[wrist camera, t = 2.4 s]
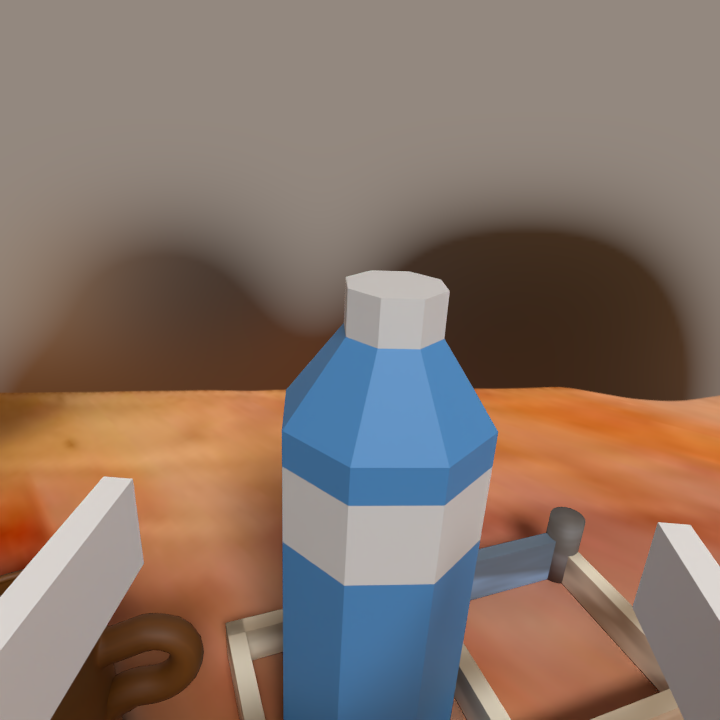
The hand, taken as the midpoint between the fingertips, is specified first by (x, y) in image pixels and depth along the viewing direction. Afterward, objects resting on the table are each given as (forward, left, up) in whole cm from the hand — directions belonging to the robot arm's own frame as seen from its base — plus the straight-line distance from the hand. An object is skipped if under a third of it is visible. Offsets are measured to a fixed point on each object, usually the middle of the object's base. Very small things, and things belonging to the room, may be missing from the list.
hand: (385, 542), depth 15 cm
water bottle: (-9, +4, -21) cm, 23 cm away
